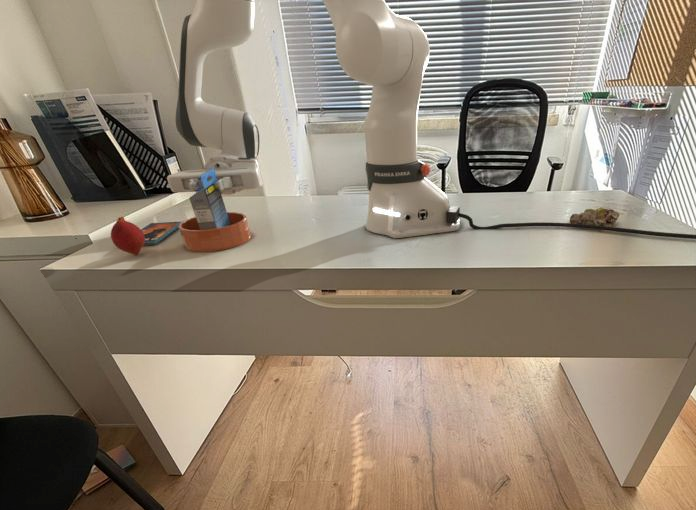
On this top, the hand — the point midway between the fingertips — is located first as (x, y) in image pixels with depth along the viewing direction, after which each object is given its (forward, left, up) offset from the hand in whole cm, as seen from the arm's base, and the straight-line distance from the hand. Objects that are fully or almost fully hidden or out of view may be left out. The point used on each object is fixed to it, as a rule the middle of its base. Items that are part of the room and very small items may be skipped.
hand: (205, 186), depth 83 cm
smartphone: (+18, -6, -12) cm, 22 cm away
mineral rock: (-86, +5, -12) cm, 87 cm away
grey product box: (0, +1, -9) cm, 9 cm away
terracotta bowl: (0, +1, -11) cm, 12 cm away
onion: (+16, +7, -12) cm, 21 cm away
